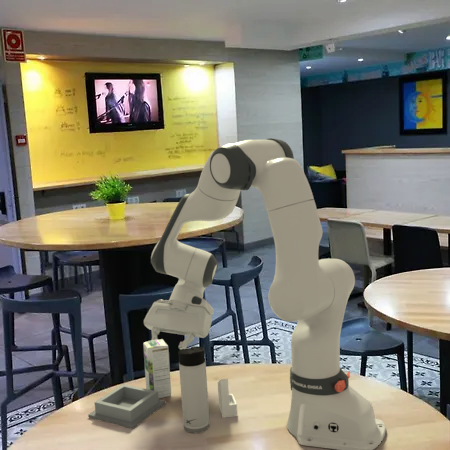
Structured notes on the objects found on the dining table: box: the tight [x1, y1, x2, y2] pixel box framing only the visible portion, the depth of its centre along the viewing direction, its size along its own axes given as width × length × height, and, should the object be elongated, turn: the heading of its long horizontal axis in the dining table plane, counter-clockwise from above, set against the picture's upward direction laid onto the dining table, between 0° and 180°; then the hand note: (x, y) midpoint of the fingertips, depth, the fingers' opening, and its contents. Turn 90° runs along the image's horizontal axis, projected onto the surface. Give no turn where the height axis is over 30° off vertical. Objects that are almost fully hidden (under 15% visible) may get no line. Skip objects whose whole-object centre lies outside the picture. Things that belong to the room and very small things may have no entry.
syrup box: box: [142, 338, 172, 400], centre depth 159 cm, size 6×6×14 cm
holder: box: [87, 383, 167, 430], centre depth 151 cm, size 14×14×4 cm
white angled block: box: [217, 378, 238, 419], centre depth 147 cm, size 4×10×9 cm, turn 9°
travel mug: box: [178, 346, 211, 434], centre depth 140 cm, size 6×7×20 cm
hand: (167, 346), depth 163 cm, fingers open, 8 cm apart
